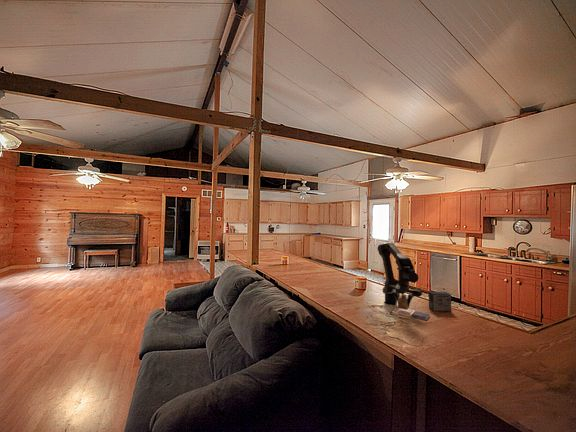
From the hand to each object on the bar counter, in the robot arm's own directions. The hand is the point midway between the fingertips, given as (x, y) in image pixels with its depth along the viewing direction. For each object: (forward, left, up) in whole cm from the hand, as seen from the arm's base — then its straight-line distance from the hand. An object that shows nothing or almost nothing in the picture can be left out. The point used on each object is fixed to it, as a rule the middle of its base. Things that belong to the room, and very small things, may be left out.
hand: (403, 304), depth 153 cm
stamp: (0, 0, -2) cm, 2 cm away
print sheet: (0, 0, -4) cm, 4 cm away
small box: (+16, +18, -4) cm, 24 cm away
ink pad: (+10, -2, -4) cm, 11 cm away
